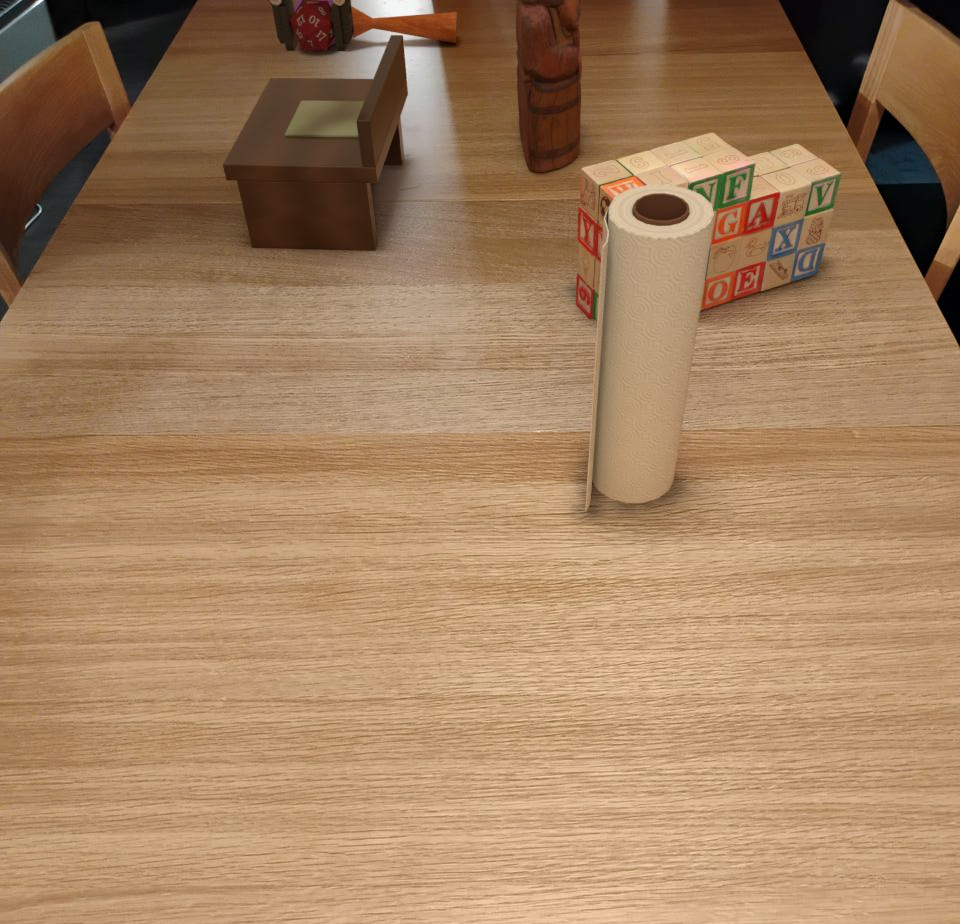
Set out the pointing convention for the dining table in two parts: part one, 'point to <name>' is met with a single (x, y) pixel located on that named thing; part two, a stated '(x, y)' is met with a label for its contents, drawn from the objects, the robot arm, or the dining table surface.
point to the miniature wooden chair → (320, 156)
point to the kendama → (406, 24)
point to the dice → (313, 24)
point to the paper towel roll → (645, 337)
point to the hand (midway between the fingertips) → (317, 46)
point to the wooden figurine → (549, 81)
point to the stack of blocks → (722, 212)
